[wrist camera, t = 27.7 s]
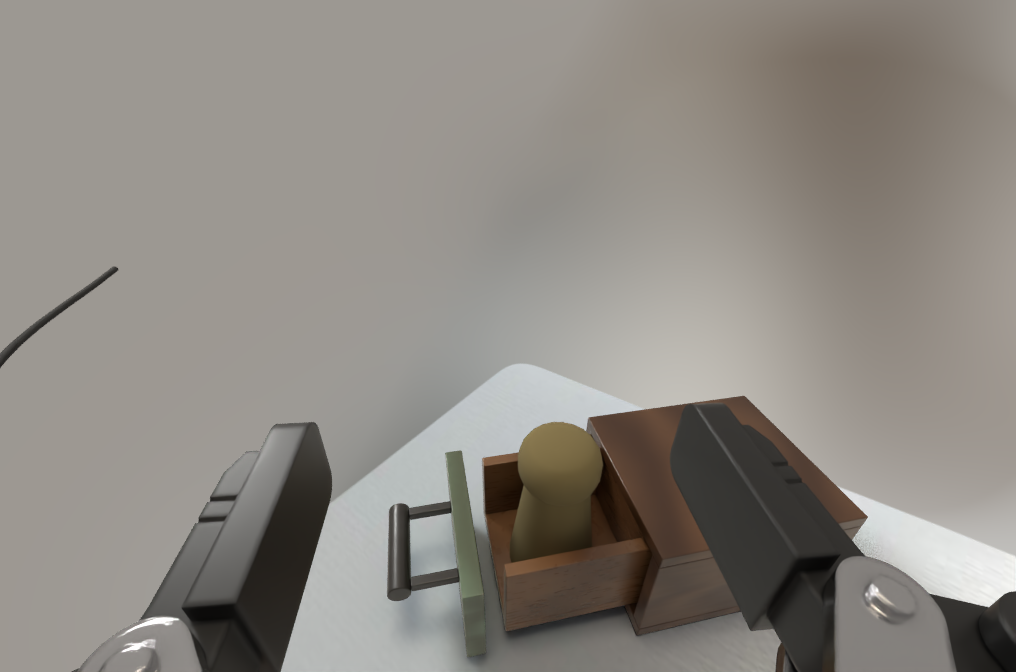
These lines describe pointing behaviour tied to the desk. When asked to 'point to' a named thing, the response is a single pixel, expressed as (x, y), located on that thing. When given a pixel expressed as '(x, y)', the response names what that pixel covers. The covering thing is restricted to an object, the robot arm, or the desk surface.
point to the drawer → (530, 583)
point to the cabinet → (687, 511)
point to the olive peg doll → (555, 491)
